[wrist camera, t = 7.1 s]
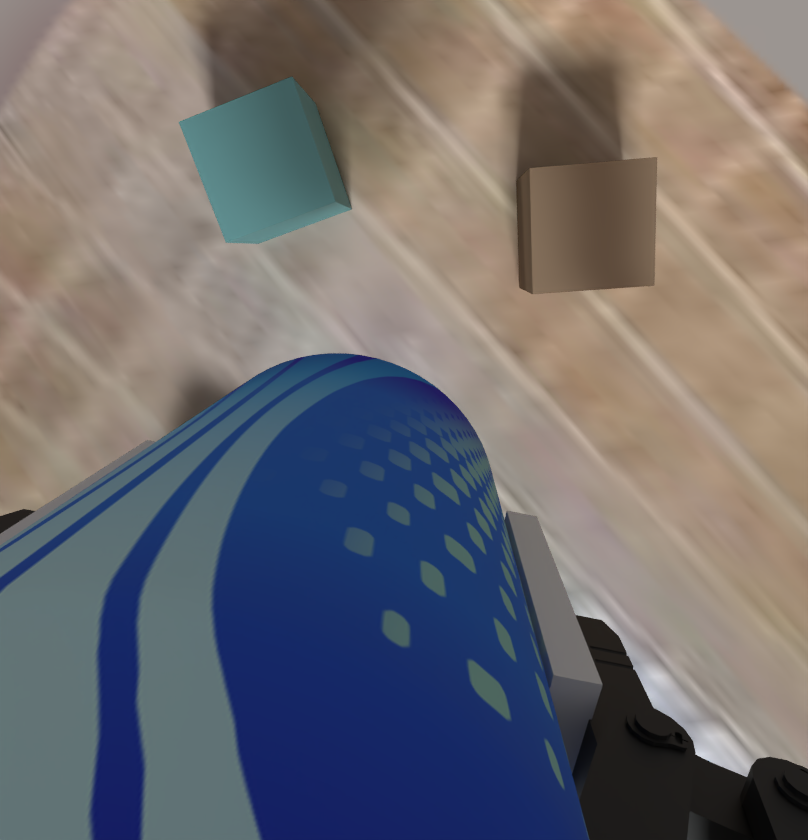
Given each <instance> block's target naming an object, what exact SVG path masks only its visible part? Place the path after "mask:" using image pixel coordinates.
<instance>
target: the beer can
mask: <svg viewBox="0 0 808 840" xmlns="http://www.w3.org/2000/svg"><path fill="white" fill-rule="evenodd" d="M0 840H590V839H589V836H588V832H587V828H586V824H585V821H584V817H583V813H582V809H581V806H580V802H579V798H578V794H577V791H576V787H575V783H574V779H573V776H572V772H571V768H570V764H569V761H568V757H567V753H566V749H565V746H564V742H563V738H562V734H561V731H560V727H559V723H558V719H557V716H556V712H555V708H554V704H553V701H552V697H551V693H550V689H549V686H548V682H547V678H546V674H545V671H544V667H543V663H542V659H541V655H540V652H539V648H538V644H537V640H536V637H535V633H534V629H533V625H532V622H531V618H530V614H529V610H528V607H527V603H526V599H525V595H524V592H523V588H522V584H521V580H520V577H519V573H518V569H517V565H516V562H515V558H514V554H513V550H512V547H511V543H510V539H509V535H508V532H507V528H506V524H505V520H504V517H503V513H502V509H501V505H500V502H499V498H498V494H497V490H496V487H495V483H494V479H493V475H492V472H491V468H490V465H489V461H488V458H487V455H486V453H485V450H484V448H483V445H482V443H481V441H480V439H479V437H478V436H477V434H476V432H475V430H474V429H473V427H472V426H471V424H470V423H469V421H468V420H467V418H466V417H465V416H464V414H463V413H462V412H461V411H460V410H459V408H458V407H457V406H456V405H455V404H454V403H453V402H452V401H451V400H450V399H449V398H448V397H447V396H446V395H445V394H444V393H442V392H441V391H440V390H439V389H438V388H436V387H435V386H434V385H432V384H431V383H429V382H428V381H426V380H425V379H423V378H422V377H420V376H418V375H417V374H415V373H413V372H411V371H409V370H407V369H405V368H403V367H400V366H398V365H395V364H393V363H390V362H387V361H384V360H380V359H377V358H372V357H367V356H362V355H354V354H319V355H311V356H306V357H301V358H297V359H293V360H290V361H287V362H283V363H281V364H279V365H276V366H274V367H271V368H269V369H267V370H265V371H264V372H262V373H260V374H258V375H256V376H255V377H253V378H252V379H250V380H249V381H247V382H246V383H244V384H243V385H241V386H240V387H238V388H237V389H235V390H234V391H232V392H231V393H229V394H228V395H226V396H225V397H223V398H222V399H220V400H219V401H217V402H216V403H214V404H213V405H211V406H210V407H208V408H207V409H205V410H203V411H202V412H200V413H199V414H197V415H196V416H194V417H193V418H191V419H190V420H188V421H187V422H185V423H184V424H182V425H181V426H179V427H178V428H176V429H175V430H173V431H172V432H170V433H169V434H167V435H166V436H164V437H163V438H161V439H160V440H158V441H157V442H155V443H154V444H152V445H151V446H149V447H148V448H146V449H145V450H143V451H142V452H140V453H139V454H137V455H136V456H134V457H133V458H131V459H130V460H128V461H127V462H125V463H124V464H122V465H121V466H119V467H118V468H116V469H115V470H113V471H112V472H110V473H109V474H107V475H105V476H104V477H102V478H101V479H99V480H98V481H96V482H95V483H93V484H92V485H90V486H89V487H87V488H86V489H84V490H83V491H81V492H80V493H78V494H77V495H75V496H74V497H72V498H71V499H69V500H68V501H66V502H65V503H63V504H62V505H60V506H59V507H57V508H56V509H54V510H53V511H51V512H50V513H48V514H47V515H45V516H44V517H42V518H41V519H39V520H38V521H36V522H35V523H33V524H32V525H30V526H29V527H27V528H26V529H24V530H23V531H21V532H20V533H18V534H17V535H15V536H14V537H12V538H10V539H9V540H7V541H6V542H4V543H3V544H1V545H0Z"/></svg>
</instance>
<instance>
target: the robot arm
mask: <svg viewBox="0 0 808 840" xmlns="http://www.w3.org/2000/svg"><path fill="white" fill-rule="evenodd" d="M154 443H155V442H153V441H148V440H147V441H145V442H143V443H142V444H140V445H139V446H137V447H136V448H134V449H132V450H131V451H129V452H128V453H126V454H125V455H123V456H121V457H120V458H118V459H117V460H115V461H114V462H112V463H110V464H109V465H107V466H106V467H104V468H103V469H101V470H99V471H98V472H96V473H95V474H93V475H92V476H90V477H88V478H87V479H85V480H84V481H82V482H81V483H79V484H77V485H76V486H74V487H73V488H71V489H70V490H68V491H66V492H65V493H63V494H62V495H60V496H59V497H57V498H55V499H54V500H52V501H51V502H49V503H48V504H46V505H45V506H43V507H41V508H40V509H38V510H37V511H31V510H26V509H23V510H19V511H16V512H13V513H9V514H6V515H3V516H0V545H1V544H3V543H4V542H6V541H7V540H9V539H10V538H12V537H14V536H15V535H17V534H18V533H20V532H21V531H23V530H24V529H26V528H27V527H29V526H30V525H32V524H33V523H35V522H36V521H38V520H39V519H41V518H42V517H44V516H45V515H47V514H48V513H50V512H51V511H53V510H54V509H56V508H57V507H59V506H60V505H62V504H63V503H65V502H66V501H68V500H69V499H71V498H72V497H74V496H75V495H77V494H78V493H80V492H81V491H83V490H84V489H86V488H87V487H89V486H90V485H92V484H93V483H95V482H96V481H98V480H99V479H101V478H102V477H104V476H105V475H107V474H109V473H110V472H112V471H113V470H115V469H116V468H118V467H119V466H121V465H122V464H124V463H125V462H127V461H128V460H130V459H131V458H133V457H134V456H136V455H137V454H139V453H140V452H142V451H143V450H145V449H146V448H148V447H149V446H151V445H152V444H154ZM505 524H506V528H507V532H508V535H509V539H510V543H511V547H512V550H513V554H514V558H515V562H516V565H517V569H518V573H519V577H520V580H521V584H522V588H523V592H524V595H525V599H526V603H527V607H528V610H529V614H530V618H531V622H532V625H533V629H534V633H535V637H536V640H537V644H538V648H539V652H540V655H541V659H542V663H543V667H544V671H545V674H546V678H547V682H548V686H549V689H550V693H551V697H552V701H553V704H554V708H555V712H556V716H557V719H558V723H559V727H560V731H561V734H562V738H563V742H564V746H565V749H566V753H567V757H568V761H569V764H570V768H571V772H572V776H573V779H574V783H575V787H576V791H577V794H578V798H579V802H580V806H581V809H582V813H583V817H584V821H585V824H586V828H587V832H588V836H589V839H590V840H808V769H807V768H805V767H803V766H800V765H797V764H794V763H792V762H789V761H787V760H783V759H778V758H772V757H766V758H760V759H757V760H756V761H755V763H754V764H753V765H752V766H751V769H750V771H749V774H748V777H745V776H742V775H740V774H738V773H735V772H733V771H730V770H728V769H725V768H723V767H721V766H718V765H716V764H713V763H711V762H709V761H707V760H705V759H703V758H701V757H699V756H697V755H695V748H694V744H693V741H692V739H691V738H690V736H689V735H688V734H687V732H686V731H685V729H684V728H683V727H681V726H680V725H679V724H678V723H677V722H675V721H674V720H673V719H672V718H671V717H669V716H667V715H665V714H664V713H662V712H660V711H658V710H656V709H654V708H653V706H652V704H651V702H650V700H649V698H648V696H647V694H646V692H645V690H644V688H643V686H642V683H641V681H640V679H639V677H638V675H637V673H636V671H635V670H633V665H632V663H631V661H630V659H629V657H628V656H626V654H627V653H626V650H625V648H624V646H623V644H622V642H621V640H620V638H619V636H618V635H617V634H616V633H615V632H614V631H613V630H612V629H610V628H609V627H608V626H607V625H606V624H605V623H604V622H603V621H602V620H598V619H593V618H588V617H583V616H578V615H575V613H574V610H573V608H572V605H571V603H570V600H569V598H568V595H567V592H566V590H565V587H564V585H563V582H562V580H561V577H560V575H559V572H558V570H557V567H556V564H555V562H554V559H553V557H552V554H551V552H550V549H549V547H548V544H547V542H546V539H545V536H544V534H543V531H542V529H541V526H540V524H539V521H538V519H537V517H536V516H531V515H526V514H521V513H516V512H511V511H507V513H506V517H505Z"/></svg>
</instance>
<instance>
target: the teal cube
mask: <svg viewBox="0 0 808 840" xmlns="http://www.w3.org/2000/svg"><path fill="white" fill-rule="evenodd" d="M179 124H180V126H181V129H182V131H183V134H184V137H185V139H186V142H187V144H188V147H189V149H190V152H191V154H192V157H193V159H194V162H195V165H196V167H197V170H198V172H199V175H200V177H201V180H202V182H203V185H204V188H205V190H206V193H207V195H208V198H209V200H210V203H211V205H212V208H213V210H214V213H215V216H216V218H217V221H218V223H219V226H220V228H221V231H222V233H223V236H224V239H225V241H226V243H253V244H259V243H261V242H264V241H267V240H269V239H272V238H275V237H278V236H280V235H283V234H286V233H289V232H291V231H294V230H297V229H299V228H302V227H305V226H308V225H310V224H313V223H316V222H318V221H321V220H324V219H327V218H329V217H332V216H335V215H337V214H340V213H343V212H346V211H348V210H351V209H352V208H351V205H350V202H349V199H348V196H347V194H346V191H345V188H344V185H343V182H342V179H341V176H340V173H339V170H338V167H337V164H336V162H335V159H334V156H333V153H332V150H331V147H330V144H329V141H328V138H327V135H326V132H325V130H324V127H323V124H322V121H321V118H320V115H319V112H318V109H317V106H316V104H315V102H314V101H313V100H312V99H311V98H310V97H309V96H308V94H307V93H306V92H305V91H304V90H303V89H302V87H301V86H300V85H299V84H298V83H297V82H296V81H295V79H294V78H293V77H289V78H287V79H284V80H282V81H279V82H277V83H274V84H272V85H269V86H267V87H264V88H262V89H259V90H257V91H254V92H252V93H250V94H247V95H245V96H242V97H240V98H237V99H235V100H232V101H230V102H227V103H225V104H222V105H220V106H217V107H215V108H212V109H210V110H207V111H205V112H202V113H200V114H197V115H195V116H193V117H190V118H188V119H185V120H183V121H180V122H179Z"/></svg>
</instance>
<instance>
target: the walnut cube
mask: <svg viewBox="0 0 808 840" xmlns="http://www.w3.org/2000/svg"><path fill="white" fill-rule="evenodd" d="M656 185H657V157H653V158H641V159H630V160H618V161H606V162H595V163H583V164H571V165H559V166H548V167H536V168H529V169H528V170H527V171H526V172H525V173H524V174H523V175H522V176H521V177H520V178H519V179H518V180H517V181H516V187H517V221H518V255H519V288H521V289H523V290H525V291H527V292H529V293H531V294H541V293H556V292H570V291H584V290H598V289H612V288H626V287H640V286H654V277H655V231H656Z"/></svg>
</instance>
